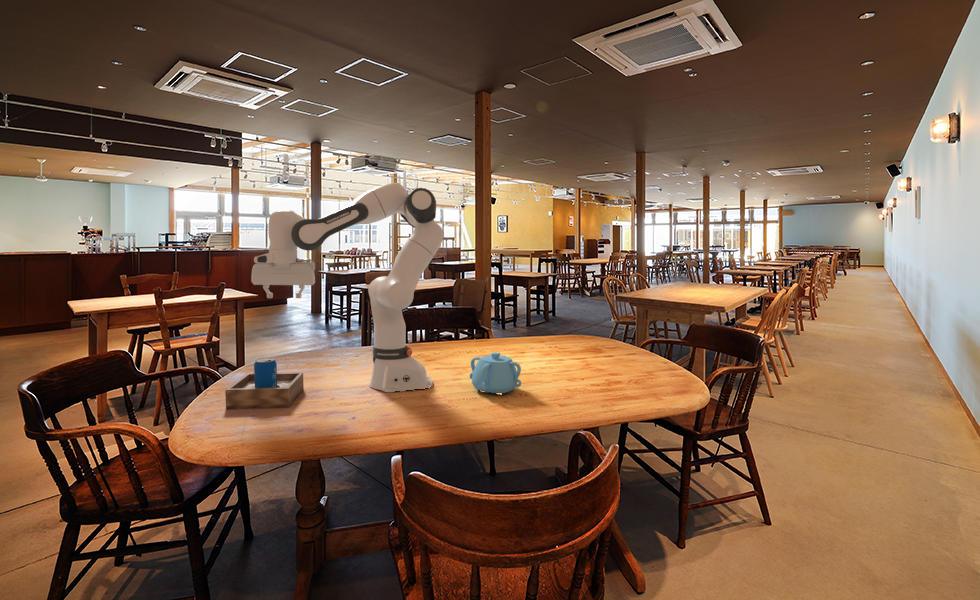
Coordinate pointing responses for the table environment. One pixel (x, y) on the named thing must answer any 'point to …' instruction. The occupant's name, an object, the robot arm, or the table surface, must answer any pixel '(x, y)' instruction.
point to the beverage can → (265, 373)
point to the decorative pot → (495, 373)
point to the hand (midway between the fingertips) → (284, 298)
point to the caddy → (264, 392)
